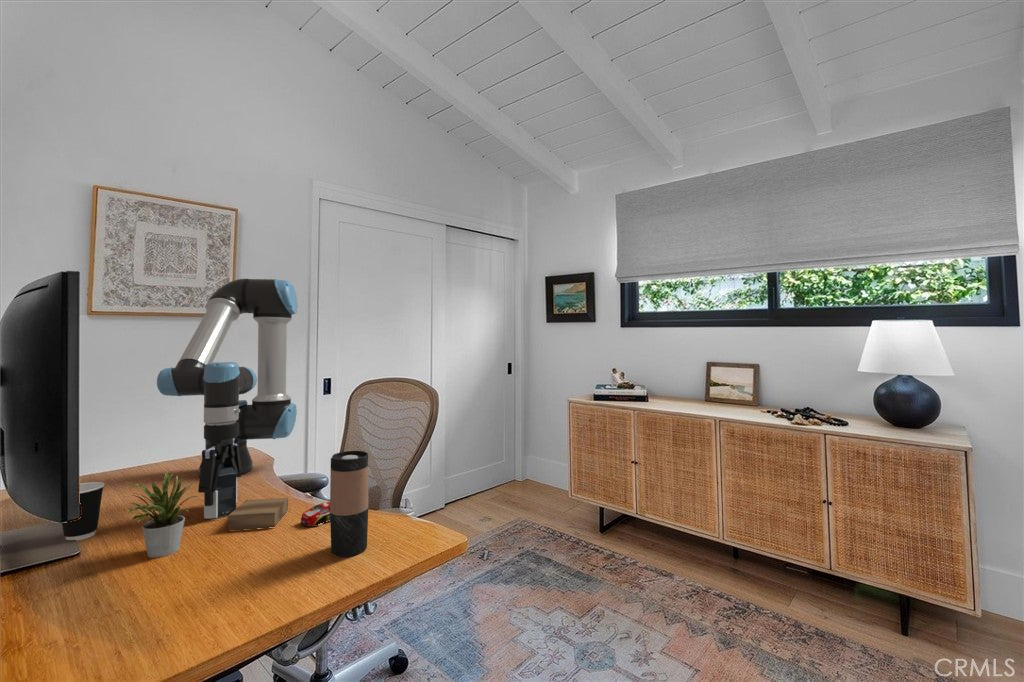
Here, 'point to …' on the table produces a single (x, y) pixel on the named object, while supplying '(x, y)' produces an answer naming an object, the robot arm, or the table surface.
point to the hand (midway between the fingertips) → (221, 509)
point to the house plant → (162, 518)
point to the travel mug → (349, 503)
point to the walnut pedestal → (258, 514)
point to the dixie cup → (86, 512)
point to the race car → (316, 514)
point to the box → (226, 491)
